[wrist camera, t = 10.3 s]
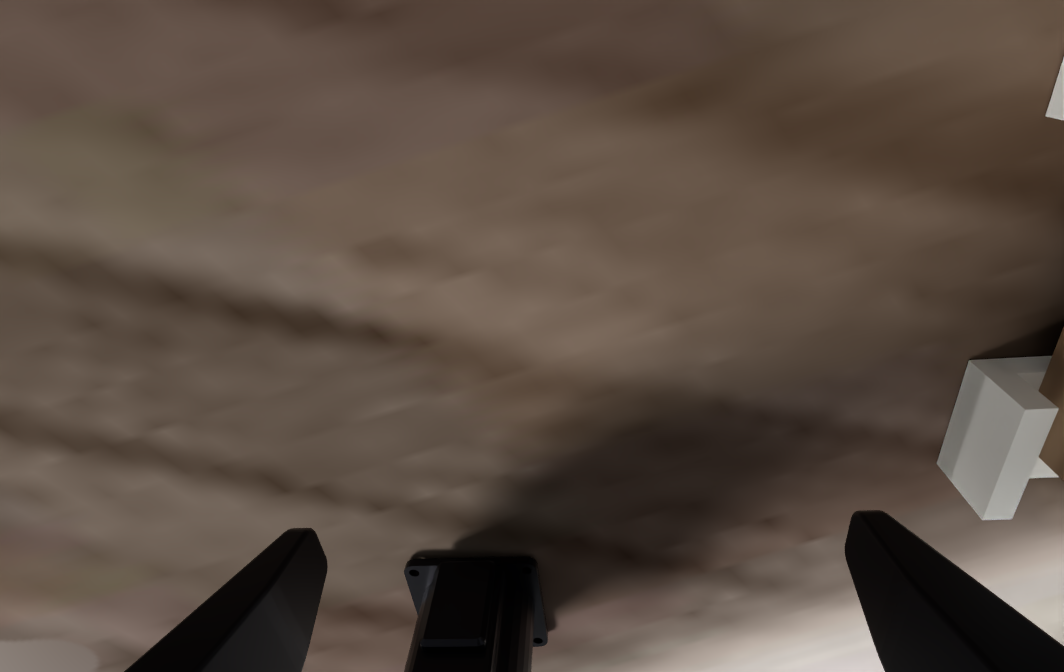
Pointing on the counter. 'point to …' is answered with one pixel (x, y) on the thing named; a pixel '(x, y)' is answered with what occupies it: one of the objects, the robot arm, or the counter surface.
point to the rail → (1060, 388)
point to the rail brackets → (1000, 420)
